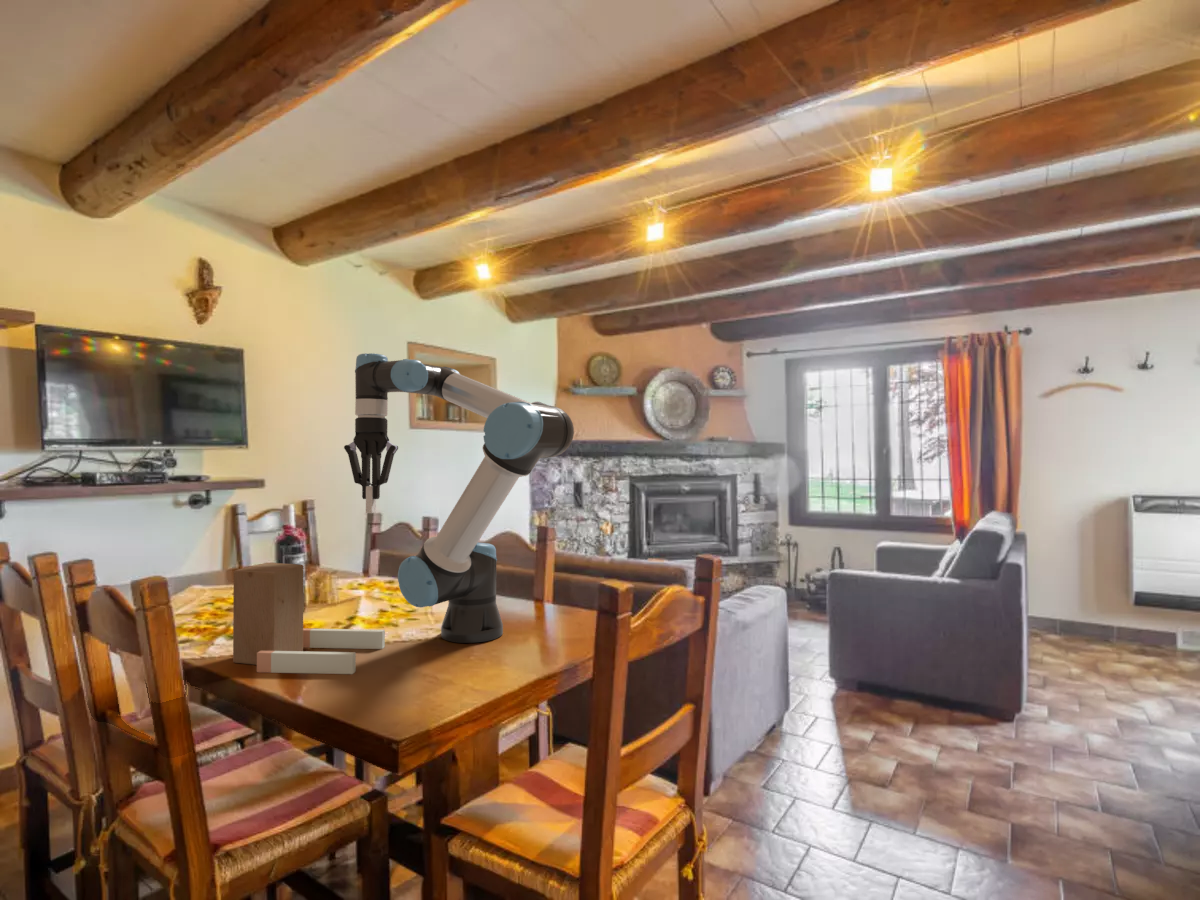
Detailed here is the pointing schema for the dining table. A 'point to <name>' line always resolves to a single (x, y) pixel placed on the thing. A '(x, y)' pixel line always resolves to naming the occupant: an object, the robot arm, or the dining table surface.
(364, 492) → the robot arm
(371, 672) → the dining table surface
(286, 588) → the wooden block
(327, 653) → the white bars
